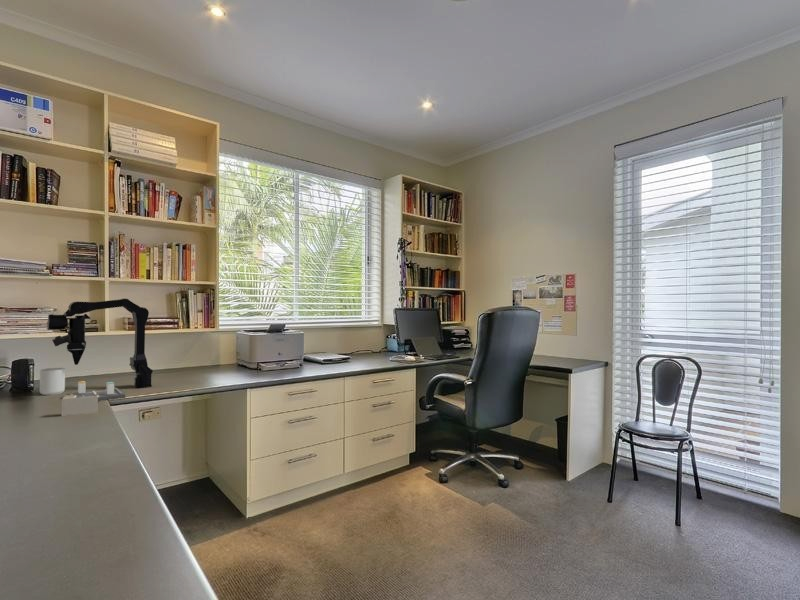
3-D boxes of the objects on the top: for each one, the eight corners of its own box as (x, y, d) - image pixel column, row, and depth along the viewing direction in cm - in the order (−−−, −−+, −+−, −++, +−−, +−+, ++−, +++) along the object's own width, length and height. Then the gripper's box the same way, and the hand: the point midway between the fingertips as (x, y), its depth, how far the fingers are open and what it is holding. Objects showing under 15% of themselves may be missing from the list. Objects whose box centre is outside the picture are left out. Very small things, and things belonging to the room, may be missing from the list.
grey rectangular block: (84, 391, 184) (84, 380, 184) (85, 392, 182) (85, 382, 182) (77, 392, 183) (77, 381, 183) (78, 393, 180) (78, 382, 180)
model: (63, 415, 154) (64, 394, 154) (98, 412, 159) (99, 392, 159) (61, 417, 151) (61, 396, 151) (97, 414, 156) (97, 393, 156)
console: (117, 391, 195) (117, 386, 195) (125, 397, 181) (125, 392, 181) (66, 397, 182) (66, 392, 182) (70, 404, 168) (70, 399, 168)
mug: (61, 394, 186) (61, 370, 187) (36, 396, 183) (36, 371, 183) (69, 389, 197) (69, 366, 198) (46, 391, 194) (46, 367, 194)
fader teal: (112, 392, 183) (112, 381, 183) (114, 393, 180) (114, 382, 180) (106, 393, 181) (106, 382, 181) (107, 394, 179) (107, 383, 179)
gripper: (55, 328, 190) (55, 362, 190) (51, 330, 175) (51, 367, 174) (86, 327, 196) (86, 360, 196) (84, 330, 181) (84, 365, 181)
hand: (76, 363), depth 187 cm, fingers open, 9 cm apart
